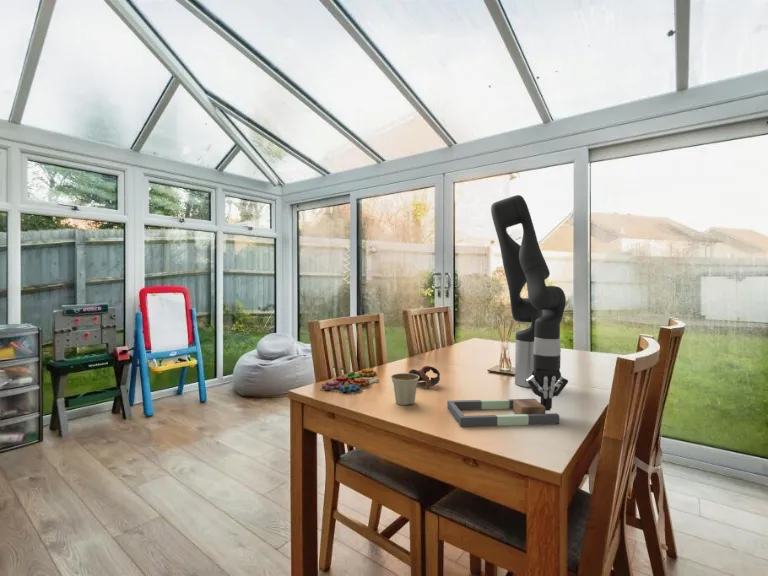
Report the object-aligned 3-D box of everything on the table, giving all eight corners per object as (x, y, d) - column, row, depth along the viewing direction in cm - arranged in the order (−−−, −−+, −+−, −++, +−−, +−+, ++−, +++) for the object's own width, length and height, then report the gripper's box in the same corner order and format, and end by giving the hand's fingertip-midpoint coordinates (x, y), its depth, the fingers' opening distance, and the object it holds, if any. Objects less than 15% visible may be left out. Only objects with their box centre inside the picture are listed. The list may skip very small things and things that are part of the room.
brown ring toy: (434, 382, 157) (441, 366, 154) (435, 399, 149) (442, 383, 145) (405, 375, 157) (411, 359, 153) (405, 391, 148) (411, 375, 144)
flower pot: (389, 398, 135) (389, 373, 135) (416, 397, 136) (416, 372, 135) (392, 407, 126) (392, 380, 125) (421, 406, 126) (421, 379, 126)
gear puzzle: (356, 372, 173) (356, 363, 173) (391, 376, 166) (391, 366, 166) (317, 391, 144) (317, 380, 144) (356, 397, 138) (356, 385, 138)
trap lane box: (534, 406, 127) (534, 398, 127) (559, 423, 112) (559, 415, 112) (447, 408, 125) (447, 400, 125) (460, 426, 110) (460, 417, 110)
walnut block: (535, 412, 122) (535, 399, 122) (545, 420, 115) (545, 407, 115) (513, 412, 122) (513, 399, 122) (521, 420, 115) (521, 407, 115)
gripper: (561, 349, 123) (560, 405, 124) (520, 350, 122) (519, 406, 122) (574, 354, 116) (574, 413, 116) (531, 355, 114) (530, 414, 115)
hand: (546, 409), depth 119 cm, fingers closed
